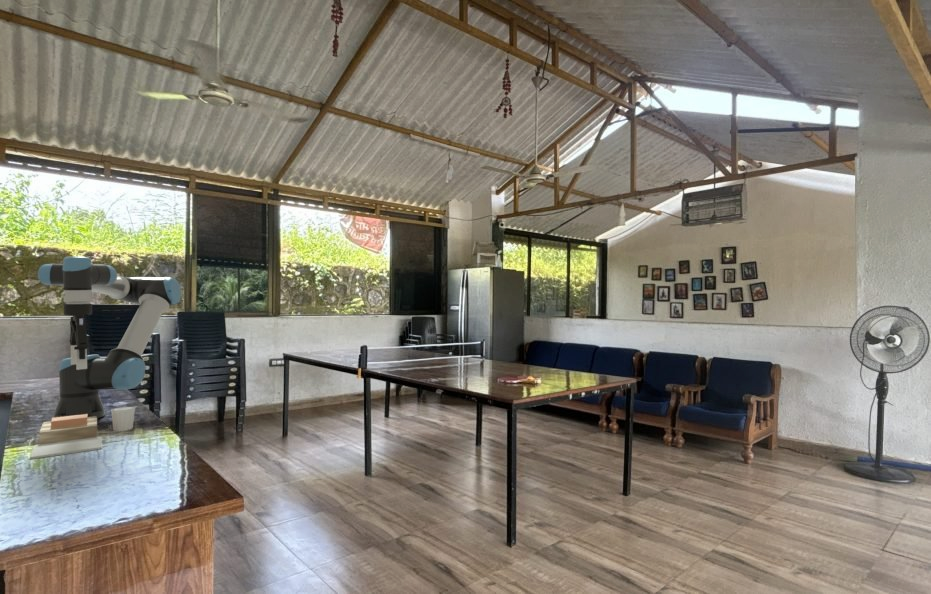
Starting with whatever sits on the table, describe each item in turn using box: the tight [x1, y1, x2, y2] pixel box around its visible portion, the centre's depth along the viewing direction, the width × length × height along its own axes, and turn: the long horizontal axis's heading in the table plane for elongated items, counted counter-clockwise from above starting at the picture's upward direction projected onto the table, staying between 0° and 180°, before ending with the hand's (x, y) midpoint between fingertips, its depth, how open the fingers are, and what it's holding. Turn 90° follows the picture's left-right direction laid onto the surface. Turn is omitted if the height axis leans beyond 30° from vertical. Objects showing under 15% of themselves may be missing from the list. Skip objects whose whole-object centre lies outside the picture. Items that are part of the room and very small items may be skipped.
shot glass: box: [110, 406, 136, 432], centre depth 169 cm, size 7×7×7 cm
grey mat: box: [29, 436, 103, 460], centre depth 147 cm, size 14×16×1 cm
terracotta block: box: [50, 414, 88, 428], centre depth 159 cm, size 6×9×2 cm, turn 127°
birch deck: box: [38, 416, 98, 445], centre depth 160 cm, size 16×14×4 cm
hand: (78, 366), depth 165 cm, fingers open, 13 cm apart
